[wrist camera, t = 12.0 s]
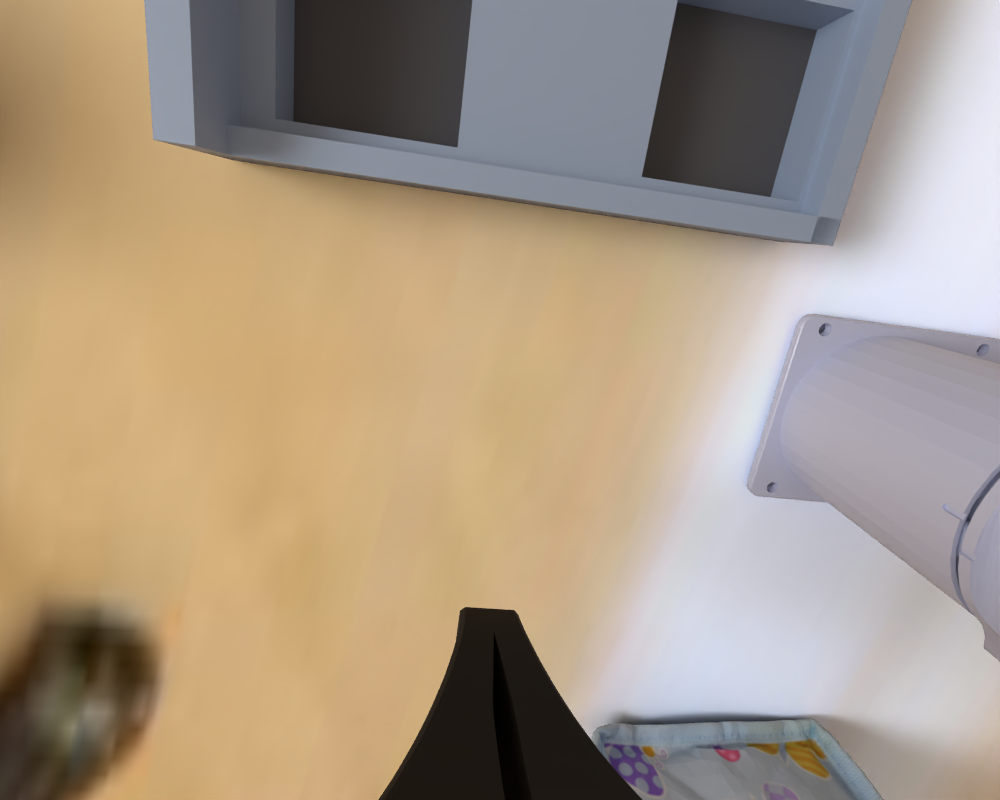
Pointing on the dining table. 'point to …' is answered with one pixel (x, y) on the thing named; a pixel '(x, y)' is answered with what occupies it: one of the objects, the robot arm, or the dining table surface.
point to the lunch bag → (733, 761)
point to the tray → (543, 99)
